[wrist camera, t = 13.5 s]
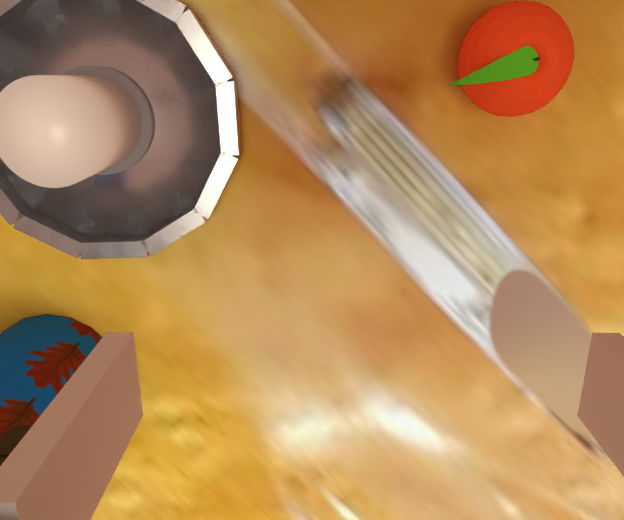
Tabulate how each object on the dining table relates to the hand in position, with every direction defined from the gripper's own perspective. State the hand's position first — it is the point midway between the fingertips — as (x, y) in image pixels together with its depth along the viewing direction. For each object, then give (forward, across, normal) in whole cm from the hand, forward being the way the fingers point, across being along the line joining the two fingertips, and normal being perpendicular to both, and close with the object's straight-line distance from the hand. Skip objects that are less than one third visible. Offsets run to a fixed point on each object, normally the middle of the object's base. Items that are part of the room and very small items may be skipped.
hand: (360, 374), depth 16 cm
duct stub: (+26, -16, +5) cm, 31 cm away
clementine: (+27, +11, +9) cm, 30 cm away
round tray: (+26, -16, +5) cm, 31 cm away
